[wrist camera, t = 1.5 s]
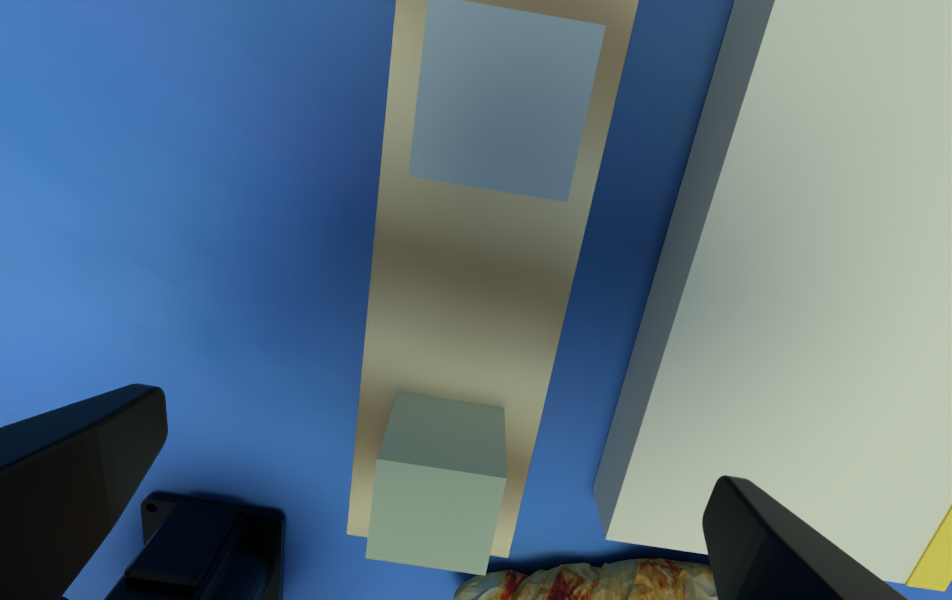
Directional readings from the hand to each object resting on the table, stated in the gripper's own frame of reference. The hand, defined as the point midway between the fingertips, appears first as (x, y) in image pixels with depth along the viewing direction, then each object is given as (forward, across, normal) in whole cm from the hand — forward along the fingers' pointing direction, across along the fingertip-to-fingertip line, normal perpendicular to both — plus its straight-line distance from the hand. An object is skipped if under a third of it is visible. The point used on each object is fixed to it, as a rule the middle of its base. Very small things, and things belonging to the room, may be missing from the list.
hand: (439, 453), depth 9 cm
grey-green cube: (+8, 0, +6) cm, 10 cm away
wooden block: (+13, 0, +1) cm, 13 cm away
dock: (+13, -14, -1) cm, 19 cm away
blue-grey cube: (+8, 0, -5) cm, 10 cm away
